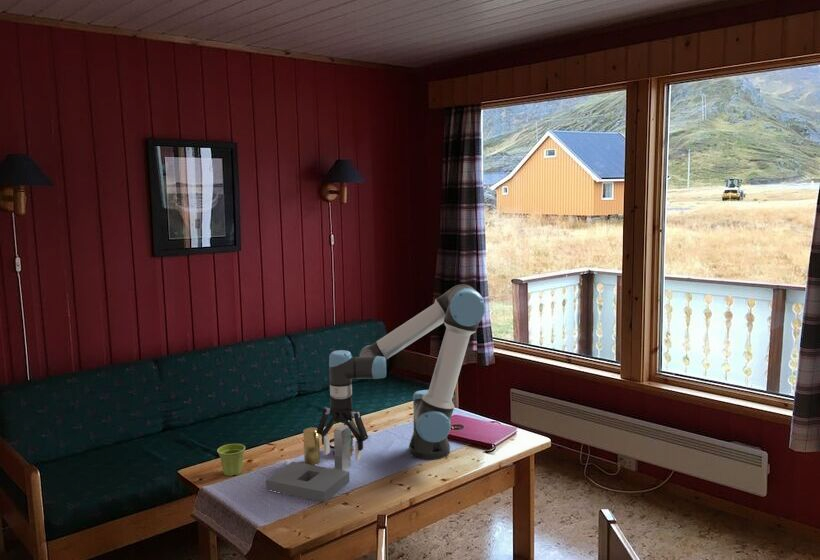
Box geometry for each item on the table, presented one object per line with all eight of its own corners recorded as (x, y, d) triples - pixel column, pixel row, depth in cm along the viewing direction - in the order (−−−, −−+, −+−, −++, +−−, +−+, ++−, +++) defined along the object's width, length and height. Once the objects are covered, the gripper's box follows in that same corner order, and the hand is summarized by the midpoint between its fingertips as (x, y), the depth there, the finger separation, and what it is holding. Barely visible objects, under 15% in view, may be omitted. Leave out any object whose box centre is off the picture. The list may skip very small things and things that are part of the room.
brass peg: (322, 460, 245) (321, 428, 243) (314, 466, 240) (313, 433, 238) (309, 458, 247) (308, 426, 245) (301, 464, 242) (300, 431, 240)
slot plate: (349, 481, 227) (349, 471, 227) (324, 502, 213) (324, 491, 212) (293, 471, 236) (293, 461, 236) (266, 490, 222) (265, 480, 221)
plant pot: (212, 476, 233) (211, 452, 232) (229, 465, 242) (227, 442, 240) (236, 480, 230) (234, 455, 228) (251, 469, 238) (250, 445, 237)
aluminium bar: (350, 466, 240) (349, 425, 237) (342, 473, 234) (341, 431, 232) (343, 465, 241) (342, 424, 239) (334, 471, 235) (333, 430, 233)
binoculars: (327, 423, 256) (353, 420, 255) (330, 449, 257) (357, 447, 257) (323, 431, 247) (351, 428, 246) (327, 459, 248) (354, 456, 248)
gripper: (305, 394, 235) (307, 454, 238) (367, 403, 225) (368, 465, 229) (316, 388, 242) (318, 447, 245) (377, 396, 232) (378, 457, 235)
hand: (342, 456), depth 237 cm, fingers open, 12 cm apart
